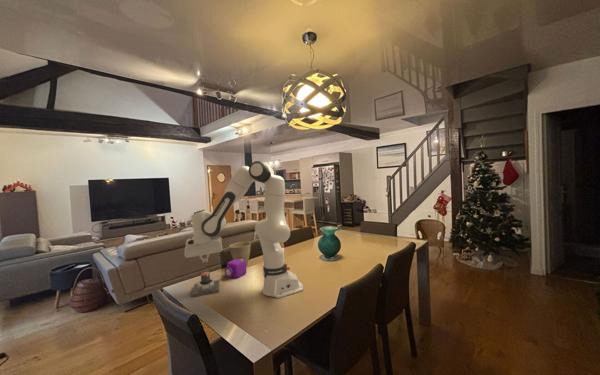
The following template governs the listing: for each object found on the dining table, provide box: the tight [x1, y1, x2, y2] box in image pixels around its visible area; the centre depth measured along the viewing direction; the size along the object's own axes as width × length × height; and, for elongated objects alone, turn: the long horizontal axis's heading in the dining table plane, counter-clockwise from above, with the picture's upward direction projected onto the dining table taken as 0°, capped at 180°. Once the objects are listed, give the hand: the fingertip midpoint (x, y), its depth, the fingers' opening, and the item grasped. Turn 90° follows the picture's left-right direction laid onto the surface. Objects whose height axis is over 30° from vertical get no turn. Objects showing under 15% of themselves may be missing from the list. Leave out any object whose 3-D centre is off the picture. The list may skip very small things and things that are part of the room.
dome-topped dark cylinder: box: [200, 271, 211, 284], centre depth 141 cm, size 5×5×8 cm
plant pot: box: [229, 241, 252, 267], centre depth 176 cm, size 15×15×16 cm
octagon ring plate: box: [191, 277, 220, 298], centre depth 141 cm, size 14×14×4 cm
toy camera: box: [224, 259, 247, 279], centre depth 158 cm, size 11×14×10 cm
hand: (205, 262), depth 140 cm, fingers closed
